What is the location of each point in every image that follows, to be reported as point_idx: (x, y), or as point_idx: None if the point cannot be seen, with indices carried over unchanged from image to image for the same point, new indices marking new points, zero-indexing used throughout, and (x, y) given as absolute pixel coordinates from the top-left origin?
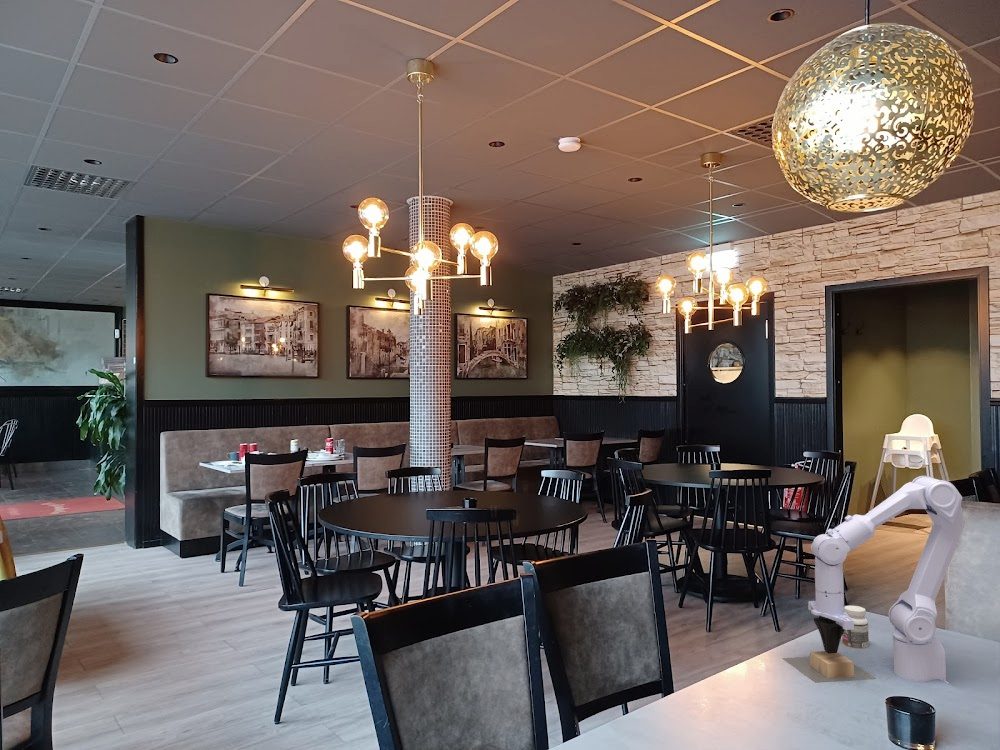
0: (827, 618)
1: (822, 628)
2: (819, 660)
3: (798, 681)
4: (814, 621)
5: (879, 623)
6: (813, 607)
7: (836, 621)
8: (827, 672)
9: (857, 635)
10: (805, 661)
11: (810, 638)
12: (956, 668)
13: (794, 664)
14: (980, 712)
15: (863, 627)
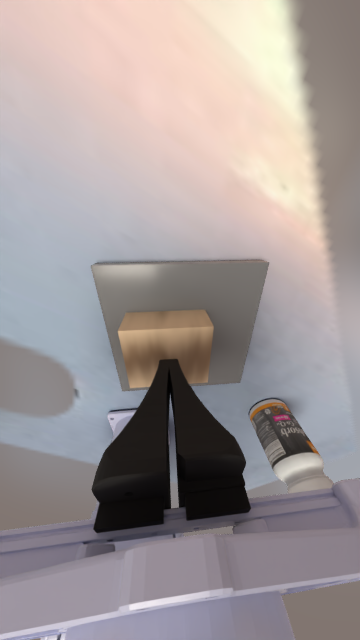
0: (185, 506)
1: (155, 430)
2: (161, 325)
3: (143, 240)
4: (225, 439)
5: (321, 454)
6: (300, 576)
7: (87, 536)
8: (124, 318)
9: (266, 437)
10: (230, 310)
11: (337, 374)
12: (174, 464)
13: (220, 274)
14: (32, 443)
15: (270, 461)
